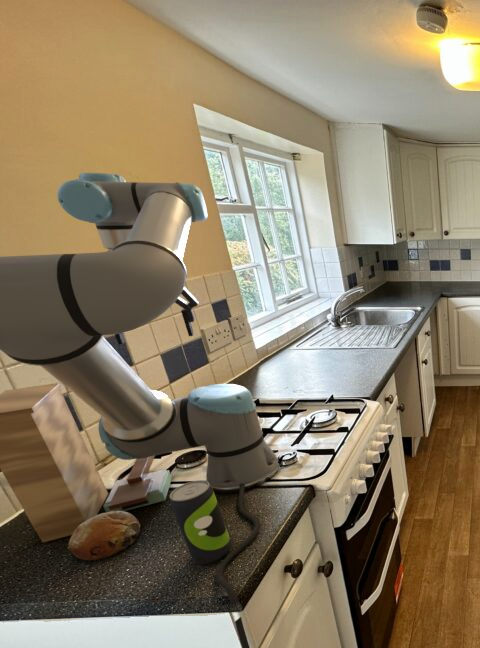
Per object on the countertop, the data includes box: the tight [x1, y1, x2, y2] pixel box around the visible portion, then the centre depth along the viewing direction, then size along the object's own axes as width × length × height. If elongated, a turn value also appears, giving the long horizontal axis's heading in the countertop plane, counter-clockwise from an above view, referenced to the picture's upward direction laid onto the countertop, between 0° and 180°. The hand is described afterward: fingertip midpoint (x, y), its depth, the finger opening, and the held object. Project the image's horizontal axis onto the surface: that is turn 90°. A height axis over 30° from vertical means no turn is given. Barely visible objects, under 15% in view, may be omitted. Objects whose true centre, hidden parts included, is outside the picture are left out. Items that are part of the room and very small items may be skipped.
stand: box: [0, 382, 109, 544], centre depth 83 cm, size 14×8×28 cm, turn 30°
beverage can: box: [169, 479, 232, 565], centre depth 76 cm, size 6×6×15 cm
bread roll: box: [68, 511, 141, 561], centre depth 81 cm, size 10×10×8 cm
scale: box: [102, 469, 173, 513], centre depth 94 cm, size 10×10×3 cm
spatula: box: [108, 455, 156, 510], centre depth 96 cm, size 22×6×2 cm, turn 30°
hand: (157, 338), depth 102 cm, fingers open, 13 cm apart
